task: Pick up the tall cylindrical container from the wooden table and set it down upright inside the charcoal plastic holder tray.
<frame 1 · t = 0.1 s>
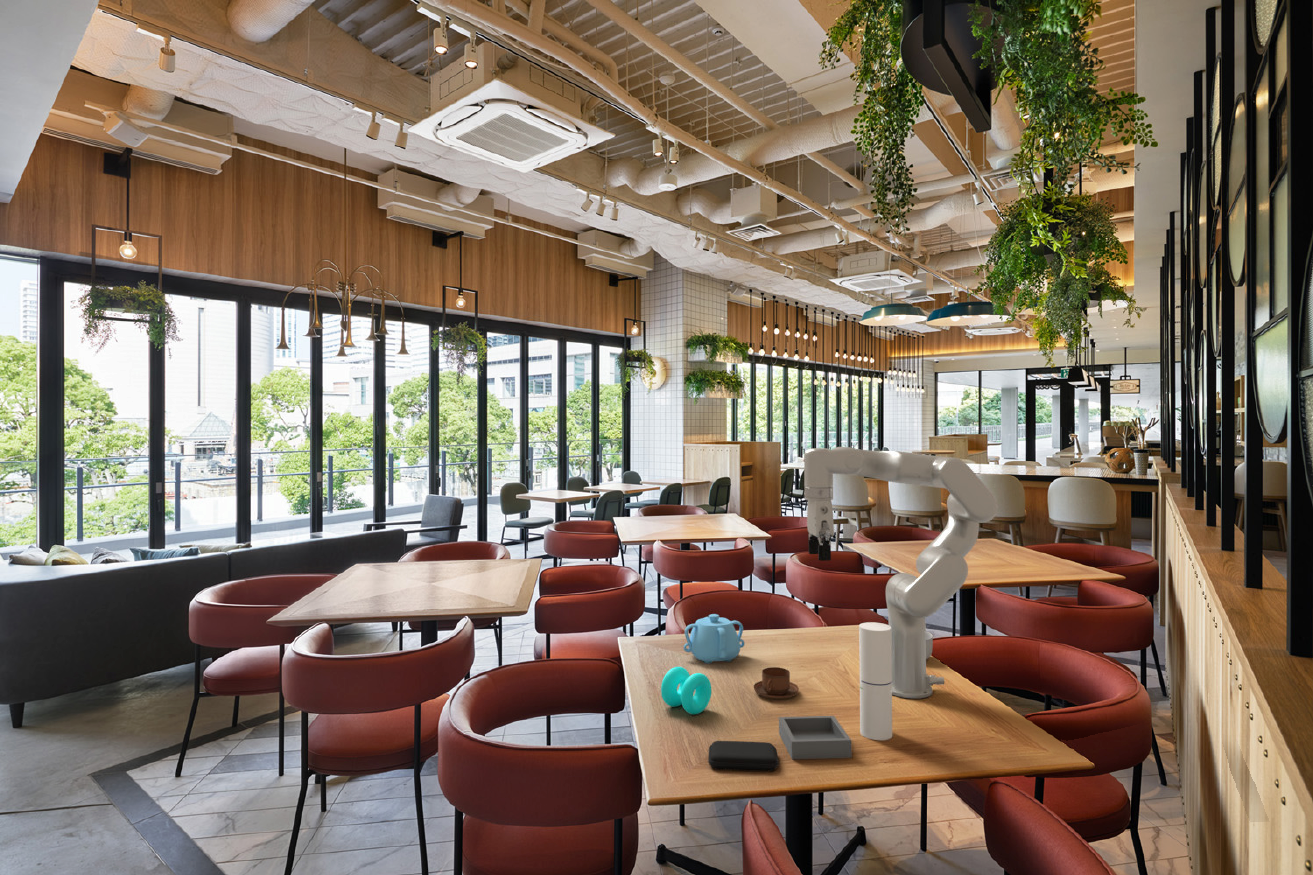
hand: (819, 557, 186), 37 cm above the table, tool pointing down, fingers open, 9 cm apart
teacup: (909, 658, 214), on the table
cup and saucer: (776, 695, 186), on the table
holder tray: (813, 744, 155), on the table
cylindrical container: (876, 734, 160), on the table
carrying case or bag: (743, 762, 148), on the table
turquoise double ring spool: (686, 710, 176), on the table
decorative pot: (714, 658, 216), on the table
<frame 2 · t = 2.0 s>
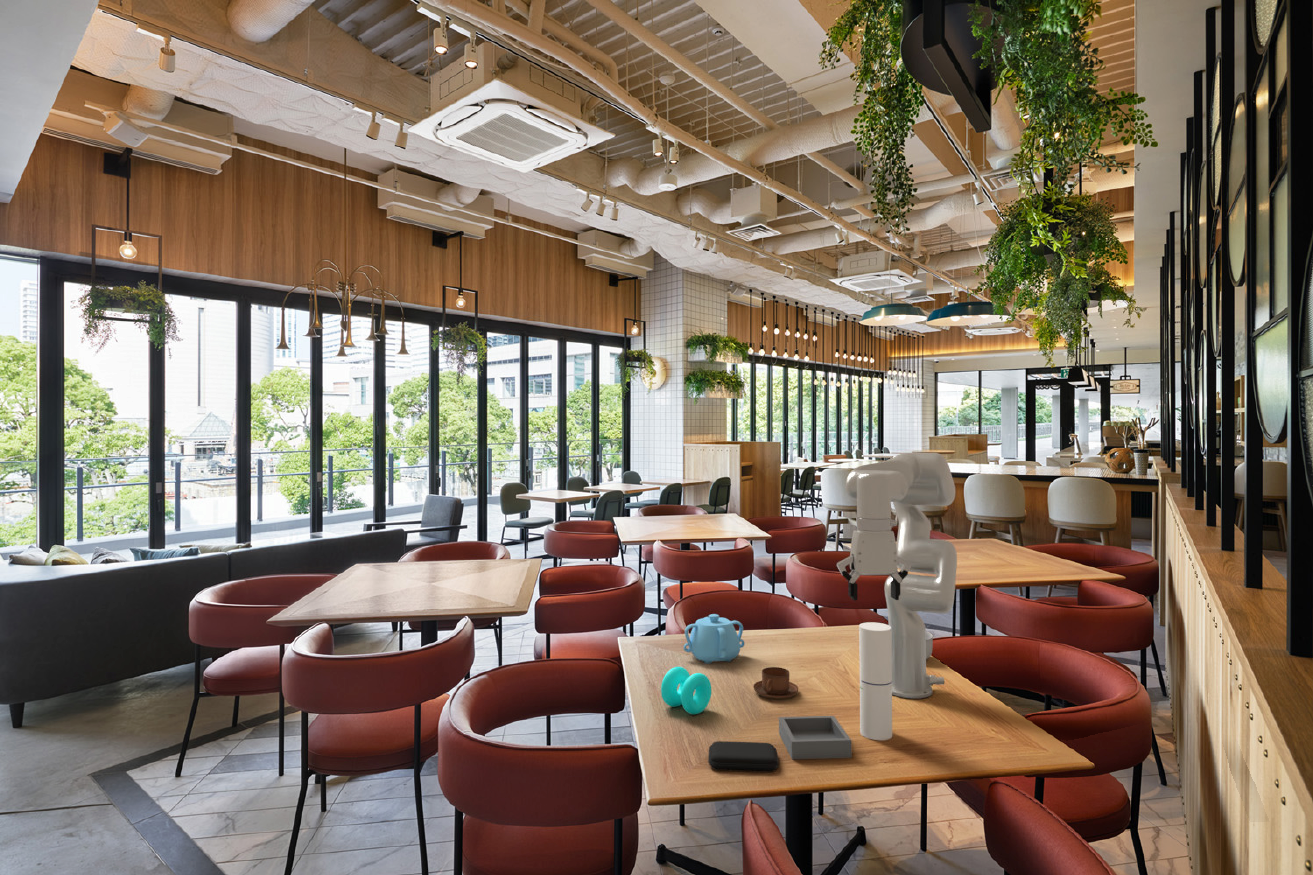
hand: (874, 599, 160), 31 cm above the table, tool pointing down, fingers open, 9 cm apart
nothing on the table moved.
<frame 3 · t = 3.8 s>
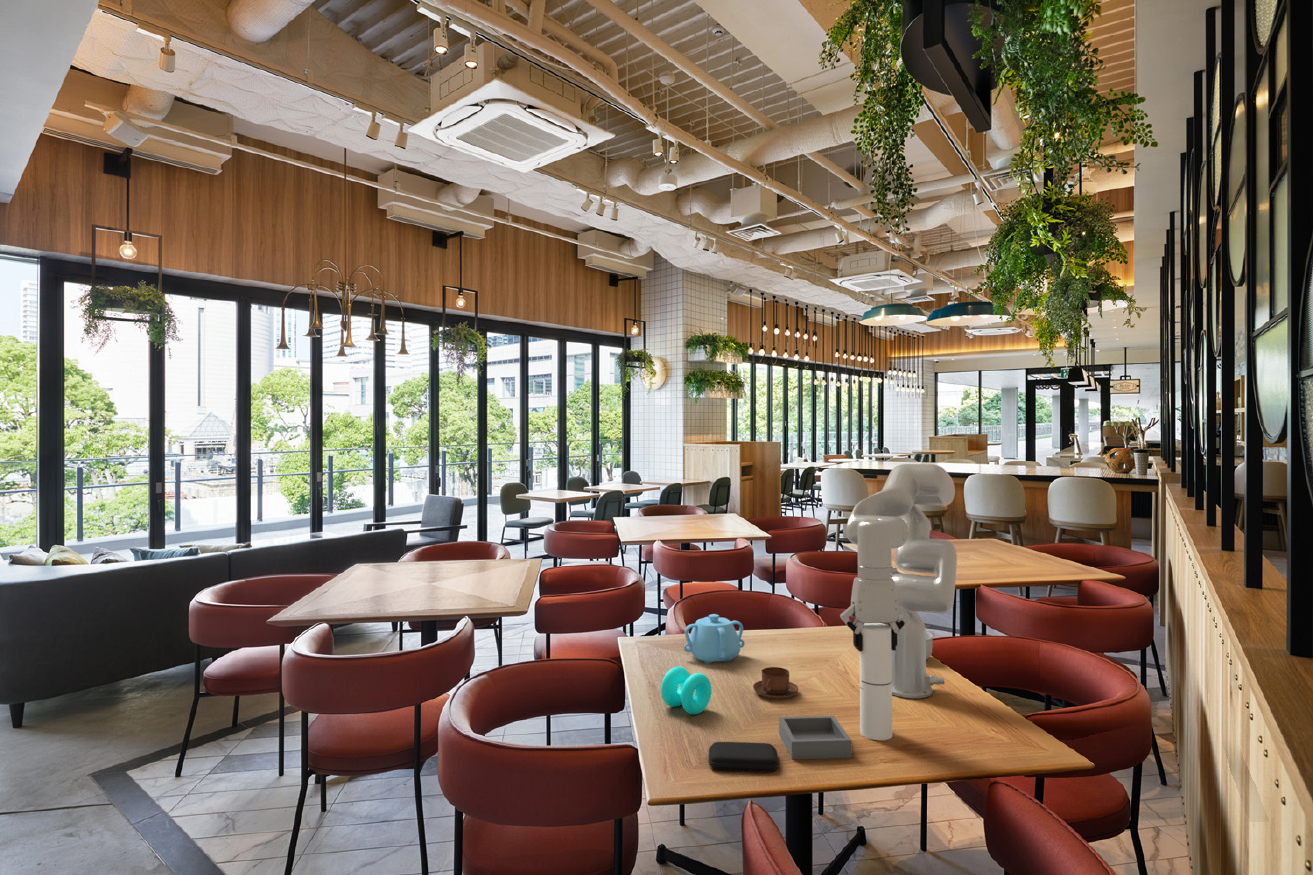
hand: (875, 648, 160), 20 cm above the table, tool pointing down, fingers closed on cylindrical container, 7 cm apart
cylindrical container: (876, 734, 160), on the table, touching gripper
everything else where it was.
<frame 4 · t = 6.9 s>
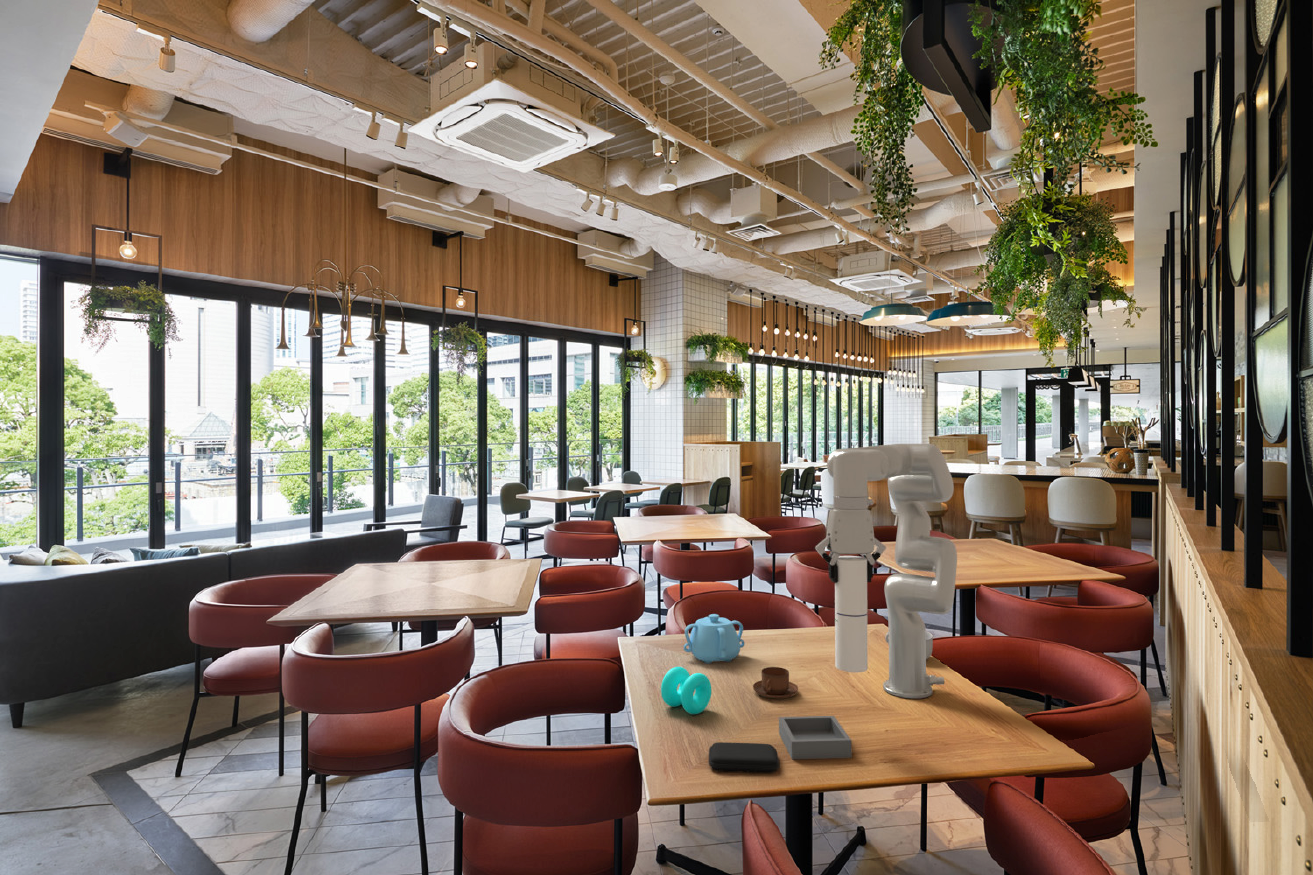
hand: (850, 580, 158), 36 cm above the table, tool pointing down, fingers closed on cylindrical container, 7 cm apart
cylindrical container: (851, 668, 158), point 16 cm above the table, touching gripper
everything else where it was.
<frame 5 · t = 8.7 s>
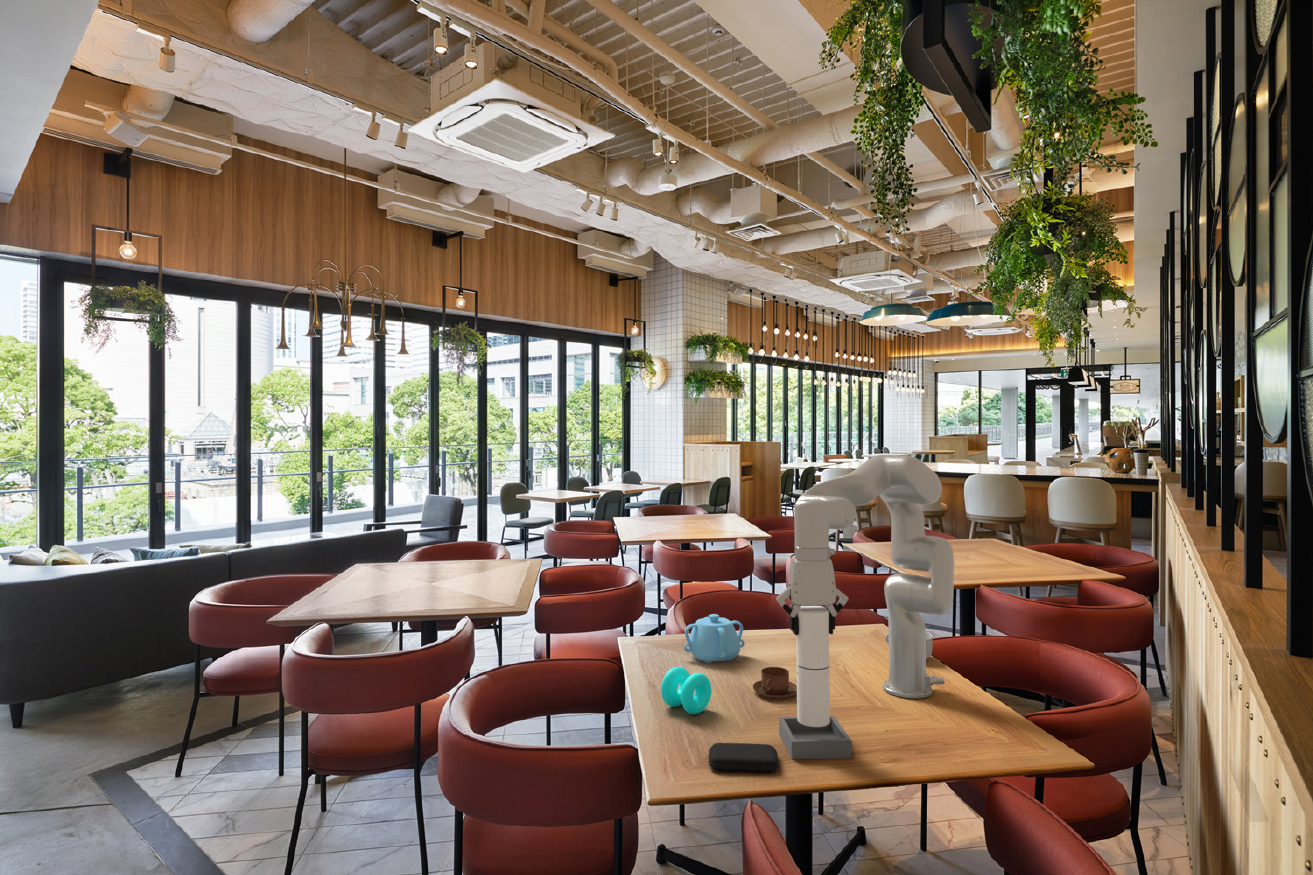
hand: (812, 632, 155), 25 cm above the table, tool pointing down, fingers closed on cylindrical container, 7 cm apart
cylindrical container: (813, 721, 155), point 5 cm above the table, touching gripper
everything else where it was.
when the fingers open (22 cm above the table, at t = 10.0 s): cylindrical container drops 1 cm, resting on holder tray.
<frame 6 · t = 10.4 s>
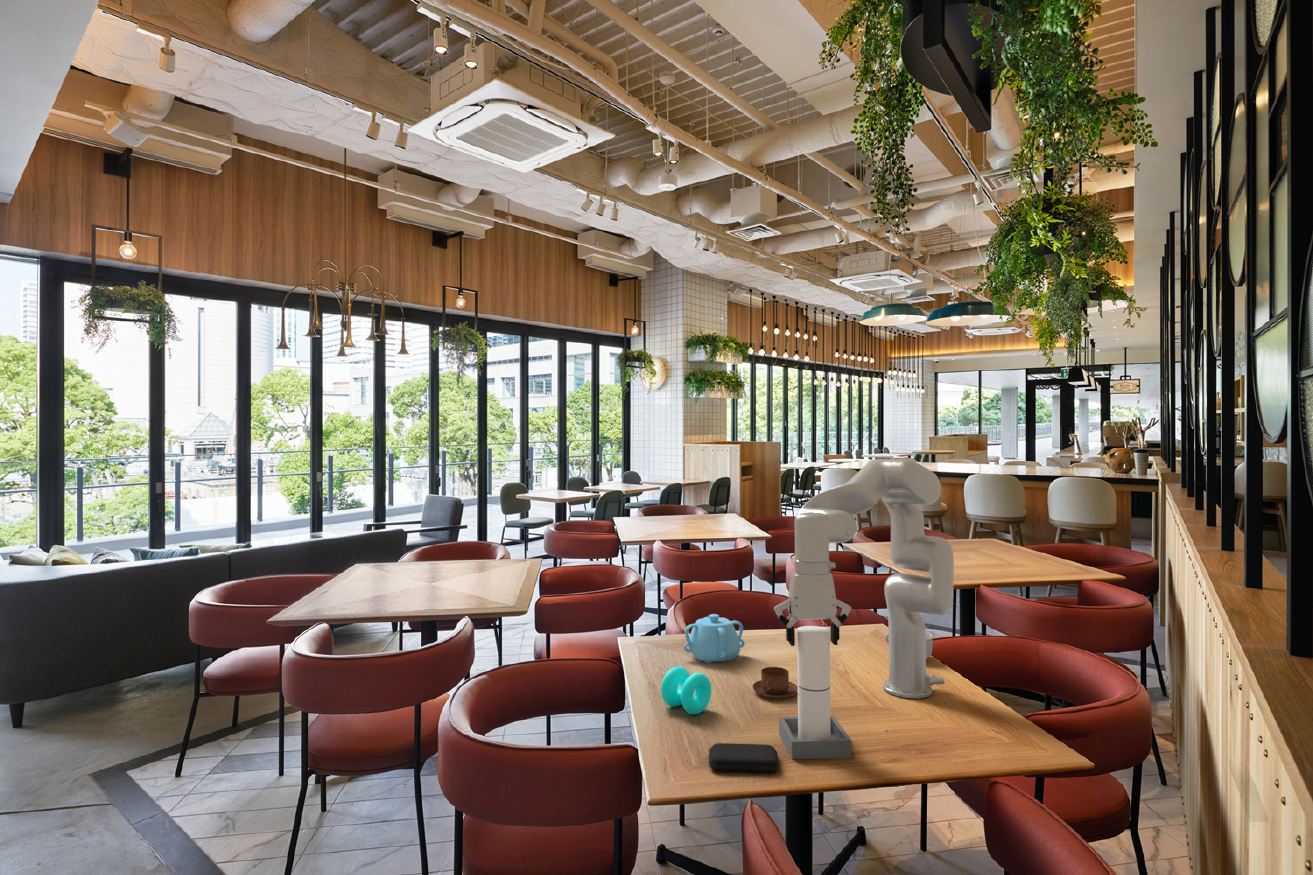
hand: (812, 643, 155), 23 cm above the table, tool pointing down, fingers open, 9 cm apart
cylindrical container: (814, 741, 155), point 1 cm above the table, touching holder tray
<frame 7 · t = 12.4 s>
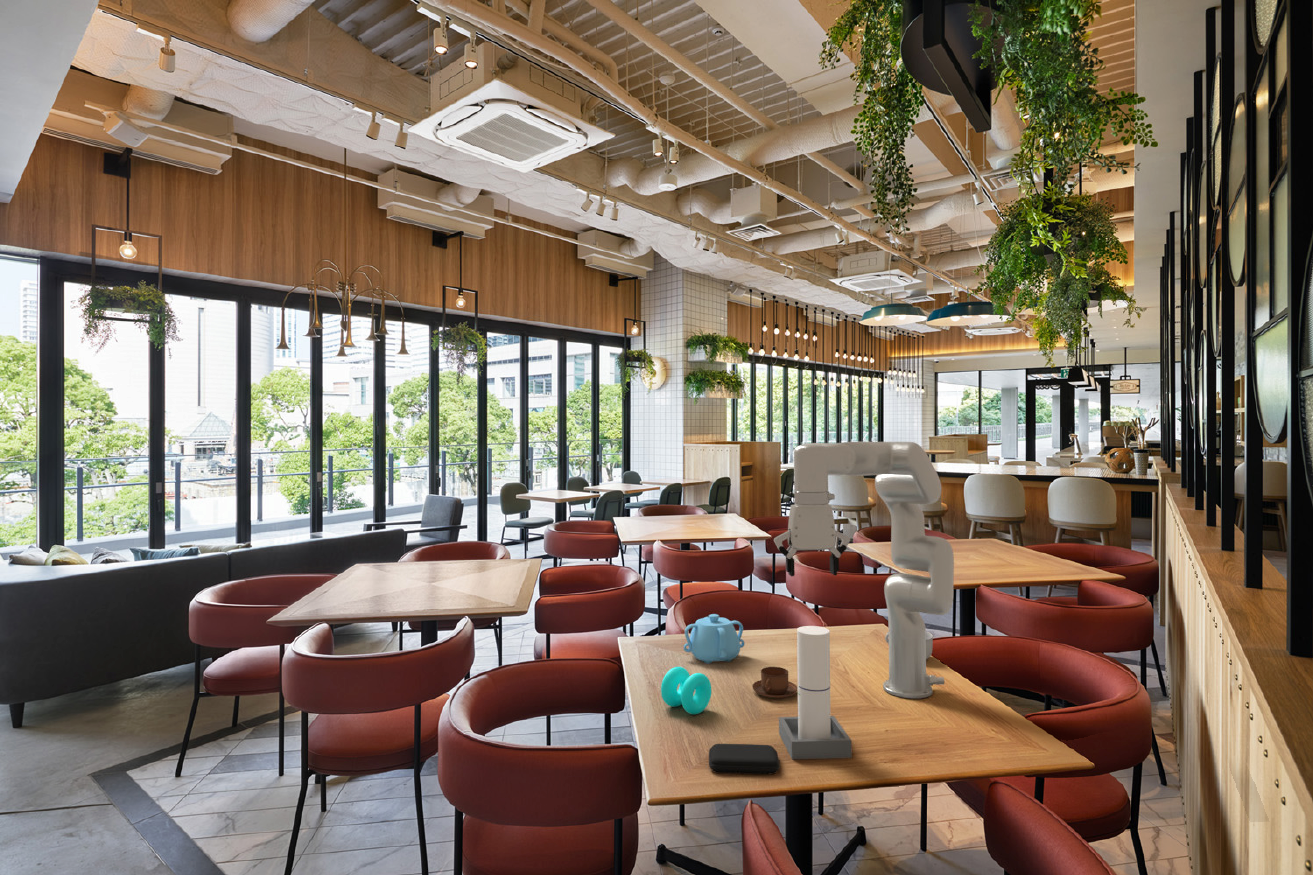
hand: (812, 574, 156), 38 cm above the table, tool pointing down, fingers open, 9 cm apart
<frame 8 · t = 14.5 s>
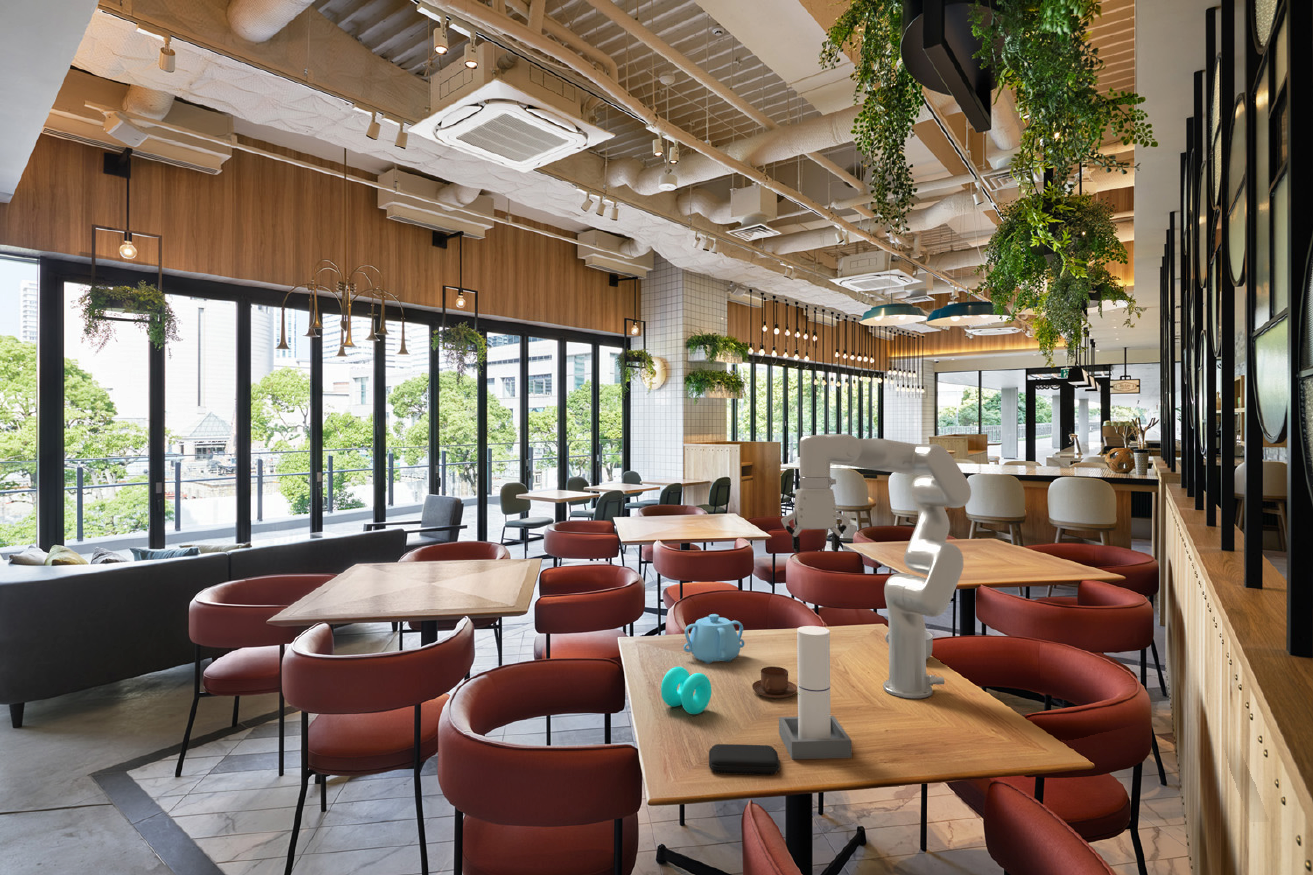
hand: (815, 551, 174), 40 cm above the table, tool pointing down, fingers open, 9 cm apart
at the end: cylindrical container 0.3 cm off-centre on the holder tray, point 0.6 cm above the holder tray's base; cylindrical container tilted 0°; the gripper is holding nothing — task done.
